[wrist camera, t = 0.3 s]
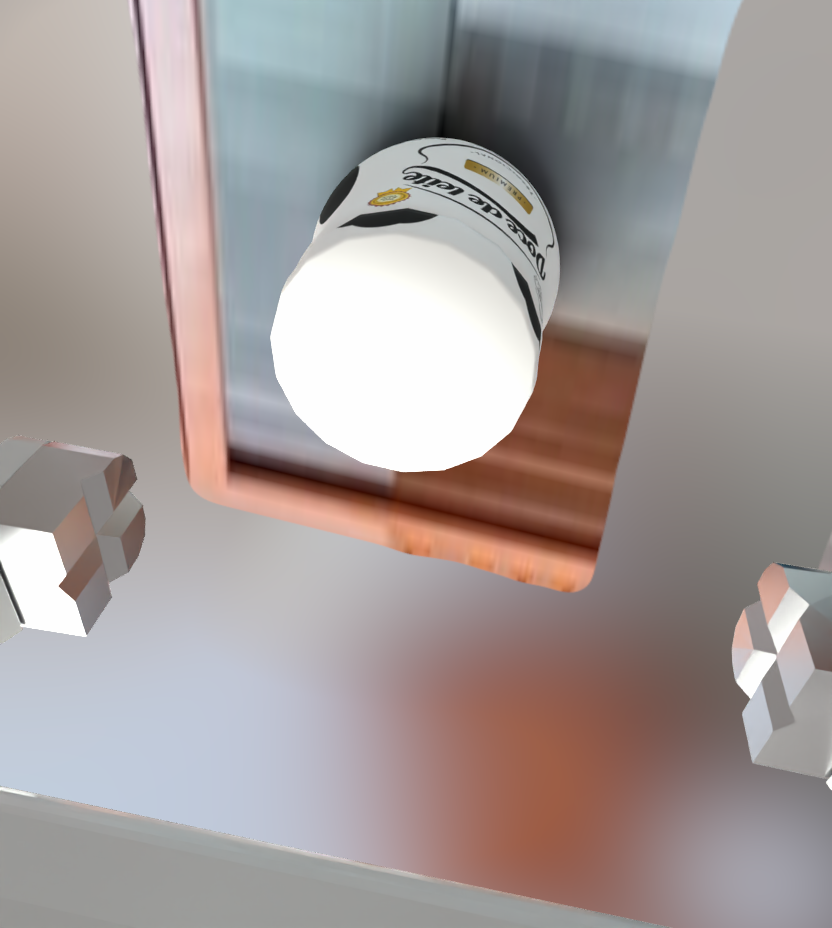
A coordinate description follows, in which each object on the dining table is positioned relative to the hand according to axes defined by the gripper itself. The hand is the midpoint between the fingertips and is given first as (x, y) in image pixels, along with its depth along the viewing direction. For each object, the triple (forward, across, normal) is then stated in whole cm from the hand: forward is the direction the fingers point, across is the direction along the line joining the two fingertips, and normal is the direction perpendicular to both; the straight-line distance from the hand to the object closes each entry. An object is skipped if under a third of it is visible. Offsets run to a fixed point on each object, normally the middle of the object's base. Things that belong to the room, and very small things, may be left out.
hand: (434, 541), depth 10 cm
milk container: (+47, +5, +15) cm, 49 cm away
